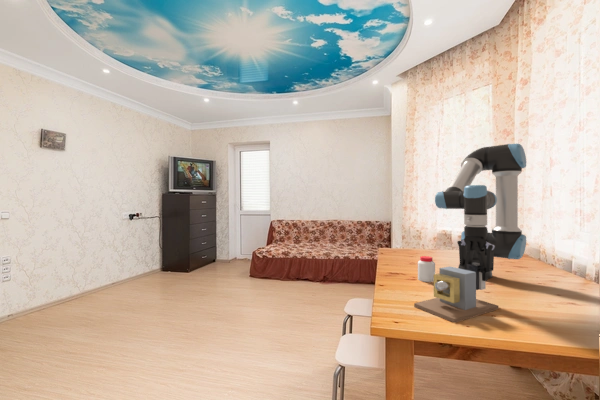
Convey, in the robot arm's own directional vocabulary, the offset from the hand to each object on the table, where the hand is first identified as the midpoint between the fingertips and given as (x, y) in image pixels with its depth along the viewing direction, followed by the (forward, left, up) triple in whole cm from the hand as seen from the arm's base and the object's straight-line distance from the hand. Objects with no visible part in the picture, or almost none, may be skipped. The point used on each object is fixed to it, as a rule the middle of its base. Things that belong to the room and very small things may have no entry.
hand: (476, 287), depth 112 cm
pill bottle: (-9, -30, -6) cm, 32 cm away
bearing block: (+11, 0, -6) cm, 12 cm away
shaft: (+9, 0, 0) cm, 9 cm away
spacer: (+17, 0, -2) cm, 17 cm away
